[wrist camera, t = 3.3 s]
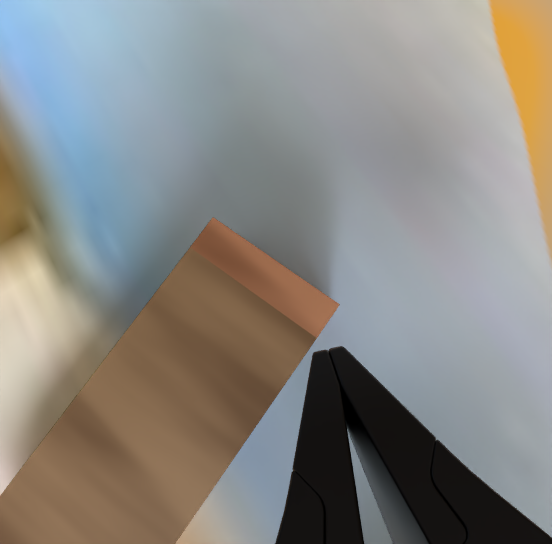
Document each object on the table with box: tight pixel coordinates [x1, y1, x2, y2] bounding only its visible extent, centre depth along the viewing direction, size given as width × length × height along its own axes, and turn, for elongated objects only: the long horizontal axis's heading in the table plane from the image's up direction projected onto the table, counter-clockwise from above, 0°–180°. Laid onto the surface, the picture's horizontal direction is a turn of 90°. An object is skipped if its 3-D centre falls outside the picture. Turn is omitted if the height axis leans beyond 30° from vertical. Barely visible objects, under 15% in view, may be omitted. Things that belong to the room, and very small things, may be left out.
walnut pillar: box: [0, 218, 340, 544], centre depth 15 cm, size 4×6×16 cm
